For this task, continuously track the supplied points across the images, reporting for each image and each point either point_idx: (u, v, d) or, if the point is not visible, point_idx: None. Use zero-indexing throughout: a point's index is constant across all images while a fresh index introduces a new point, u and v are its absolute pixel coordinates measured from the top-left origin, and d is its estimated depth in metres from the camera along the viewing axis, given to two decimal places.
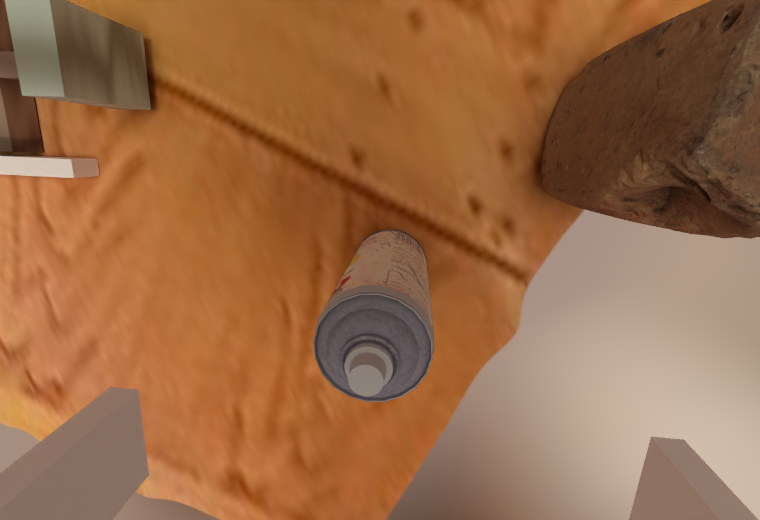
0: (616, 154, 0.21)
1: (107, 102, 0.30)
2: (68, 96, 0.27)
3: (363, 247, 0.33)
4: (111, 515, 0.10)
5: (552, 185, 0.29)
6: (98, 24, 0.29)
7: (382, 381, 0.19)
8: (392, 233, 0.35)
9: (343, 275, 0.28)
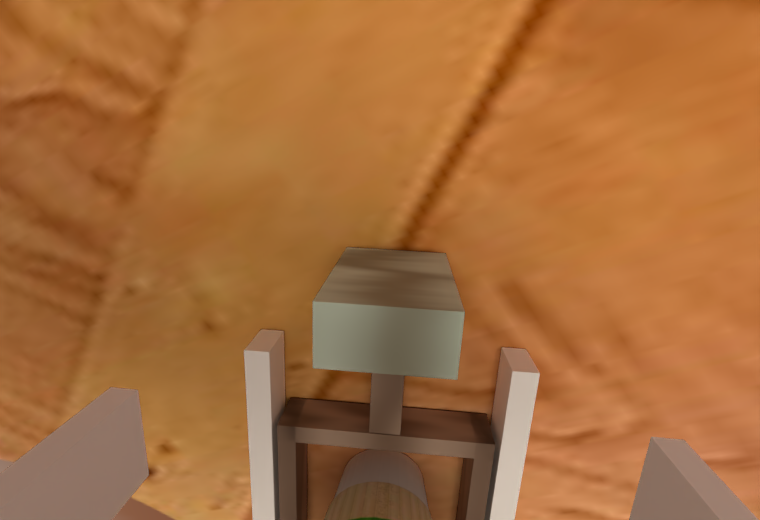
0: None
1: (452, 280, 0.19)
2: (462, 308, 0.16)
3: None
4: (111, 515, 0.10)
5: None
6: (344, 272, 0.20)
7: None
8: None
9: None
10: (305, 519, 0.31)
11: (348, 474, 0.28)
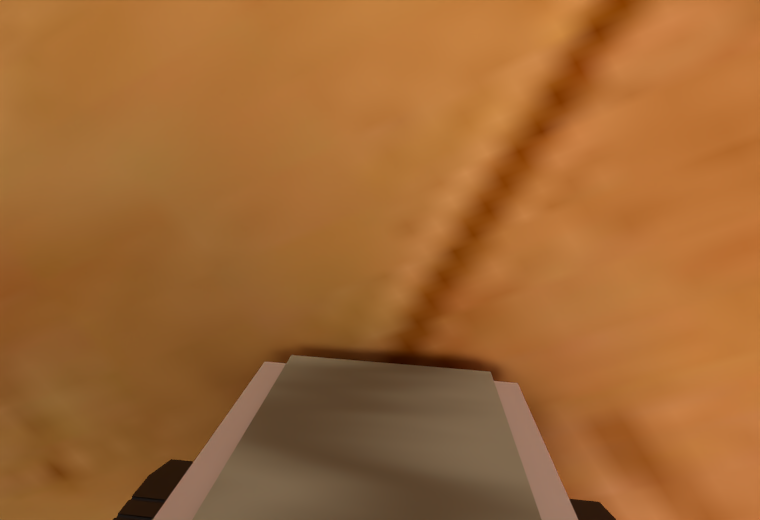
0: None
1: None
2: None
3: None
4: None
5: None
6: (246, 491, 0.07)
7: None
8: None
9: None
10: None
11: None
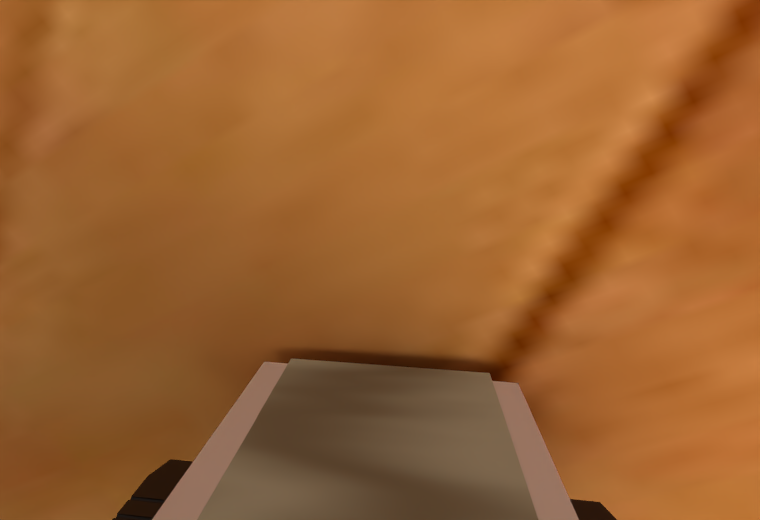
0: None
1: None
2: None
3: None
4: None
5: None
6: (246, 497, 0.07)
7: None
8: None
9: None
10: None
11: None
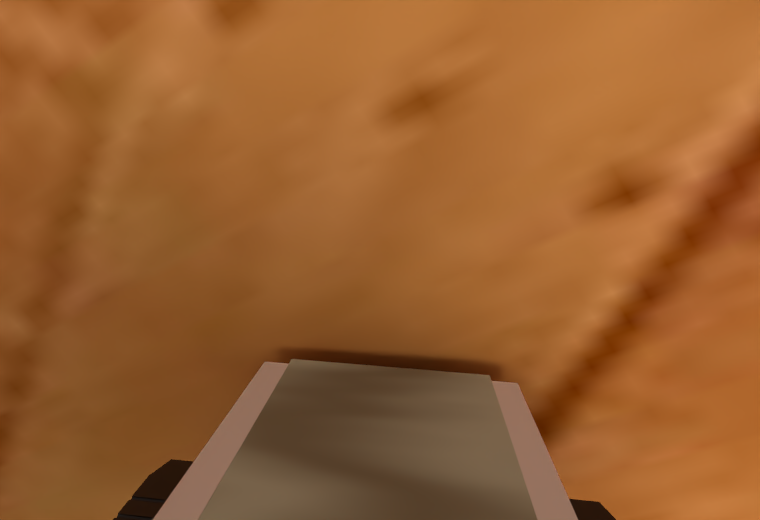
0: None
1: None
2: None
3: None
4: None
5: None
6: (247, 497, 0.07)
7: None
8: None
9: None
10: None
11: None
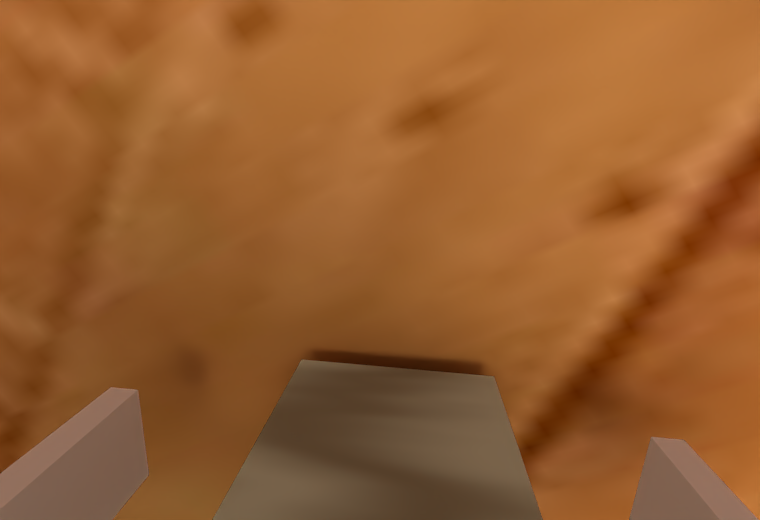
0: None
1: None
2: None
3: None
4: (111, 515, 0.10)
5: None
6: (263, 490, 0.08)
7: None
8: None
9: None
10: None
11: None
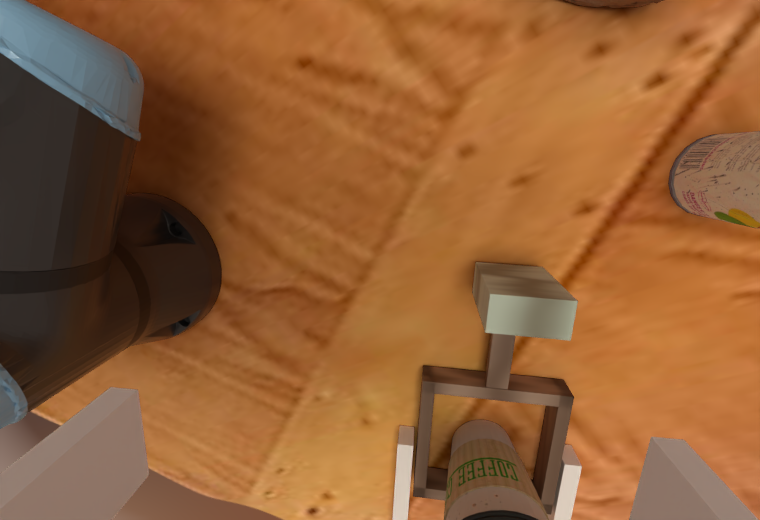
0: None
1: (559, 284, 0.32)
2: (575, 299, 0.28)
3: (709, 204, 0.31)
4: (111, 515, 0.10)
5: None
6: (491, 278, 0.32)
7: None
8: (683, 173, 0.33)
9: None
10: None
11: (460, 436, 0.41)
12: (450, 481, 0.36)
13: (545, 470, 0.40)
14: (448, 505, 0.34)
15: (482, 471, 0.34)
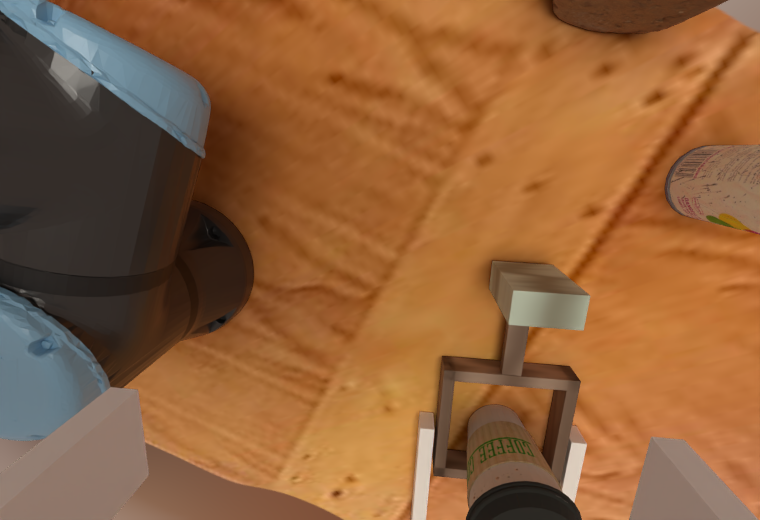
0: None
1: (570, 280, 0.36)
2: (587, 294, 0.32)
3: (701, 209, 0.35)
4: (111, 515, 0.10)
5: (679, 22, 0.30)
6: (510, 276, 0.36)
7: None
8: (678, 180, 0.37)
9: None
10: None
11: (477, 420, 0.45)
12: (471, 459, 0.40)
13: (554, 449, 0.44)
14: (472, 480, 0.38)
15: (501, 449, 0.38)
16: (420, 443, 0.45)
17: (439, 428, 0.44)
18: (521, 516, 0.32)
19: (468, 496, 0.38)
